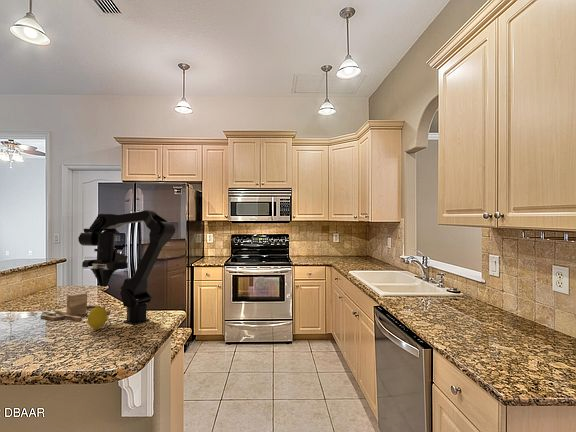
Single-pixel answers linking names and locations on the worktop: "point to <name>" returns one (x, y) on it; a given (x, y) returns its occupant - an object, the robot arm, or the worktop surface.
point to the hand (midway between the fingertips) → (103, 286)
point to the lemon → (97, 317)
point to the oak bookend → (74, 305)
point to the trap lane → (52, 315)
